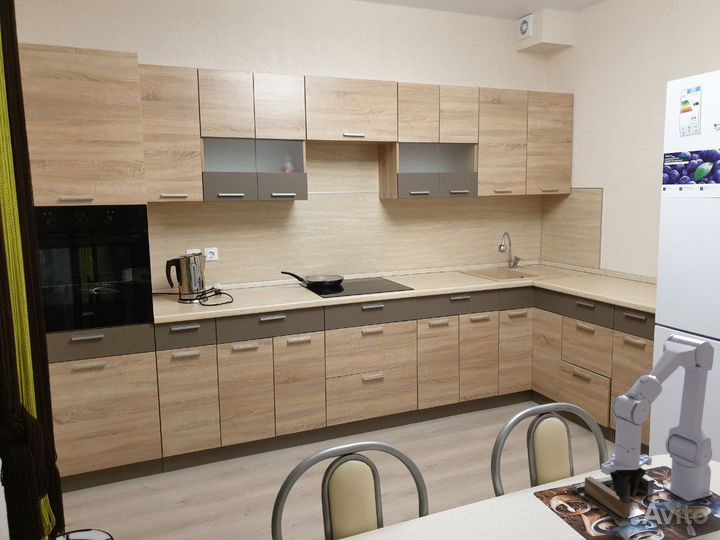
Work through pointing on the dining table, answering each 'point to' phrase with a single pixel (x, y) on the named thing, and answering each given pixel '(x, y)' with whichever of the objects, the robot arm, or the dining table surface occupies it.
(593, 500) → the vice frame
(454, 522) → the dining table surface
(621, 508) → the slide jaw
